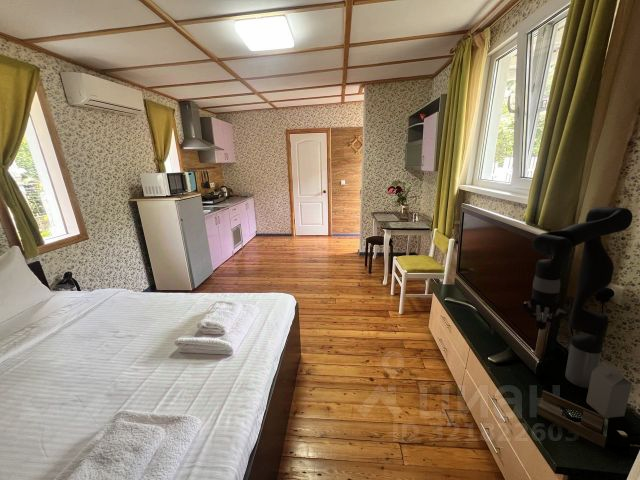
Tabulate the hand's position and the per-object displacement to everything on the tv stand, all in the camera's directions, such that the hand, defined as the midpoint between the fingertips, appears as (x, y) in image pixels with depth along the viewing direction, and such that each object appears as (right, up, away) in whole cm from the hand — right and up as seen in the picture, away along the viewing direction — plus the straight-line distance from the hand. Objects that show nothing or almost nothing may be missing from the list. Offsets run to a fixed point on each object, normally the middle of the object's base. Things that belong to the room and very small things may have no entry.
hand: (540, 328), depth 100 cm
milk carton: (+24, -31, -1) cm, 39 cm away
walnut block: (+11, -33, -8) cm, 35 cm away
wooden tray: (+8, -33, -3) cm, 34 cm away
